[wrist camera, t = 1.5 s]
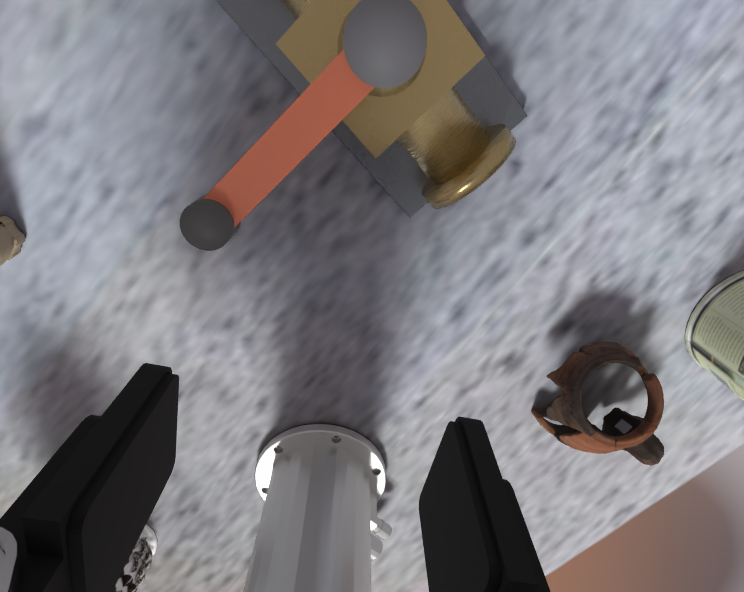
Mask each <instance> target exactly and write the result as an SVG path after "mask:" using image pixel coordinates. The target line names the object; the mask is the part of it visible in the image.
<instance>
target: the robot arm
mask: <svg viewBox="0 0 744 592" xmlns="http://www.w3.org/2000/svg"><path fill="white" fill-rule="evenodd" d="M178 390H179V376H178V375H175V374H172V370H171V368H170V367H166V366H160V365H154V364H148V363H145V364H143V365H142V366H141V367H140V368H139V370H138V371H137V372H136V373H135V375H134V376H133V377H132V378H131V380H130V381H129V382H128V383H127V385H126V386H125V387H124V388H123V390H122V391H121V392H120V394H119V395H118V396H117V397H116V399H115V400H114V401H113V402H112V404H111V405H110V406H109V407H108V409H107V410H106V411H105V412H104V414H103V415H102V416H96V415H90V416H88V417H86V418H85V419H84V420H83V421H82V422H81V423H80V424H79V426H78V427H77V428H76V429H75V430H74V432H73V433H72V434H71V435H70V436H69V438H68V439H67V440H66V441H65V442H64V444H63V445H62V446H61V447H60V448H59V449H58V451H57V452H56V453H55V454H54V455H53V457H52V458H51V459H50V460H49V461H48V463H47V464H46V465H45V466H44V467H43V469H42V470H41V471H40V472H39V473H38V475H37V476H36V477H35V478H34V479H33V481H32V482H31V483H30V484H29V485H28V486H27V488H26V489H25V490H24V491H23V492H22V494H21V495H20V496H19V497H18V498H17V500H16V501H15V502H14V503H13V504H12V506H11V507H10V508H9V509H8V510H7V512H6V513H5V514H4V515H3V516H2V518H1V519H0V592H112V591H113V589H114V587H115V585H116V583H117V581H118V579H119V577H120V575H121V573H122V571H123V569H124V567H125V565H126V563H127V561H128V559H129V557H130V555H131V553H132V551H133V549H134V547H135V545H136V543H137V541H138V539H139V537H140V535H141V533H142V531H143V529H144V527H145V525H146V523H147V521H148V519H149V517H150V515H151V513H152V511H153V509H154V507H155V505H156V503H157V501H158V499H159V497H160V495H161V493H162V491H163V489H164V487H165V485H166V483H167V481H168V479H169V477H170V475H171V473H172V470H173V467H174V463H175V457H176V435H177V412H178ZM255 482H256V486H257V489H258V492H259V494H260V495H261V496H262V498H263V499H264V501H265V503H264V507H263V511H262V515H261V520H260V524H259V528H258V532H257V536H256V540H255V545H254V549H253V553H252V557H251V561H250V565H249V570H248V574H247V578H246V582H245V586H244V590H243V592H371V559H373V560H374V559H376V558H377V557H378V556H379V555H380V554H381V551H382V548H383V544H382V541H380V540H379V539H378V538H376V537H375V536H374V535H372V534H371V530H373V532H374V533H376V534H377V535H378V536H380V537H381V538H383V539H387V538H388V537H389V536H390V534H391V531H392V528H391V526H390V525H389V524H387V523H386V522H385V521H383V520H382V519H379V518H378V517H377V502H378V501H379V499H380V498H381V496H382V494H383V492H384V489H385V484H386V469H385V464H384V460H383V458H382V456H381V454H380V452H379V451H378V450H377V448H376V447H375V446H374V445H373V444H372V443H371V442H370V441H369V440H367V439H366V438H365V437H363V436H362V435H360V434H358V433H356V432H354V431H352V430H349V429H346V428H344V427H340V426H334V425H329V424H311V425H303V426H299V427H295V428H291V429H289V430H287V431H285V432H282V433H280V434H279V435H277V436H276V437H275V438H273V439H272V440H271V441H270V442H269V443H268V444H267V445H266V446H265V447H264V448H263V450H262V452H261V454H260V455H259V459H258V462H257V465H256V470H255ZM419 514H420V522H421V530H422V538H423V546H424V554H425V561H426V569H427V577H428V585H429V592H550V589H549V587H548V584H547V581H546V578H545V575H544V573H543V570H542V567H541V564H540V562H539V559H538V556H537V553H536V551H535V548H534V545H533V543H532V540H531V537H530V534H529V532H528V529H527V526H526V523H525V521H524V518H523V515H522V512H521V510H520V507H519V504H518V501H517V499H516V496H515V493H514V490H513V488H512V486H511V484H510V483H509V482H508V481H507V480H504V479H502V476H501V473H500V470H499V467H498V464H497V462H496V459H495V456H494V453H493V450H492V447H491V444H490V441H489V438H488V436H487V433H486V430H485V427H484V424H483V422H482V421H481V420H476V419H470V418H464V417H458V418H457V419H456V421H455V422H453V421H450V422H449V423H448V425H447V427H446V430H445V433H444V435H443V438H442V440H441V443H440V446H439V448H438V451H437V453H436V456H435V458H434V461H433V464H432V466H431V469H430V471H429V474H428V477H427V479H426V482H425V484H424V487H423V490H422V492H421V495H420V500H419Z"/></svg>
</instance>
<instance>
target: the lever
mask: <svg viewBox="0 0 744 592" xmlns="http://www.w3.org/2000/svg"><path fill="white" fill-rule="evenodd" d="M343 47H344V49H343V50H342V51H341V52H340V54H339V55H338V56H337V57H336V58H335V59H334V60H333V61H332V62H331V63H330V64H329V65H328V66H327V67H326V68H325V69H324V71H323V72H322V73H321V74H320V75H319V76H318V77H317V78H316V79H315V80H314V81H313V82H312V83H311V84H310V85H309V87H308V88H307V89H306V90H305V91H304V92H303V93H302V94H301V95H300V96H299V97H298V98H297V99H296V100H295V101H294V102H293V104H292V105H291V106H290V107H289V108H288V109H287V110H286V111H285V112H284V113H283V114H282V115H281V116H280V117H279V118H278V119H277V121H276V122H275V123H274V124H273V125H272V126H271V127H270V128H269V129H268V130H267V131H266V132H265V133H264V134H263V135H262V136H261V138H260V139H259V140H258V141H257V142H256V143H255V144H254V145H253V146H252V147H251V148H250V149H249V150H248V151H247V152H246V153H245V155H244V156H243V157H242V158H241V159H240V160H239V161H238V162H237V163H236V164H235V165H234V166H233V167H232V168H231V169H230V171H229V172H228V173H227V174H226V175H225V176H224V177H223V178H222V179H221V180H220V181H219V182H218V183H217V184H216V185H215V186H214V188H213V189H212V190H211V191H210V192H209V193H208V194H206V195H204V196H202V197H201V198H199V199H198V200H196V201H195V202H193V203H192V204H191V205H189V206H188V207H186V208H185V209H184V211H183V212H182V214H181V217H180V228H181V231H182V234H183V236H184V237H185V239H186V240H187V241H188V242H189V243H190V244H192V245H193V246H195V247H196V248H199V249H201V250H207V251H212V250H216V249H219V248H221V247H223V246H224V245H225V244H226V243H227V241H228V240H229V239H230V238H231V237H232V236H233V235H234V233H235V232H236V231H237V230H238V228H239V226H240V223H241V221H242V220H243V219H244V218H245V217H246V216H247V215H248V214H249V213H250V212H251V211H252V210H253V209H254V208H255V207H256V206H257V205H258V204H259V203H260V202H261V201H262V200H263V199H264V198H265V197H266V196H267V195H268V194H269V193H270V192H271V191H272V190H273V189H274V188H275V187H276V186H277V185H278V184H279V183H280V182H281V181H282V180H283V179H284V178H285V177H286V176H287V175H288V174H289V173H290V172H291V171H292V170H293V169H294V168H295V167H296V166H297V165H298V164H299V163H300V162H301V161H302V160H303V159H304V158H305V157H306V156H307V155H308V154H309V153H310V152H311V151H312V150H313V149H314V148H315V147H316V146H317V145H318V144H319V143H320V142H321V141H322V140H323V139H324V138H325V137H326V136H327V135H328V134H329V133H330V132H331V131H332V130H333V129H334V128H335V127H336V126H337V125H338V124H339V123H340V122H341V121H342V120H343V119H344V118H345V117H346V116H347V115H348V114H349V113H350V112H351V111H352V110H353V109H354V108H355V107H356V106H357V105H358V104H359V103H360V102H361V101H362V100H363V99H364V98H365V97H366V96H367V95H368V94H369V93H370V92H371V91H372V90H373V89H374V88H375V87H377V88H392V87H396V86H399V85H401V84H403V83H404V82H406V81H408V80H409V79H410V78H411V77H412V76H413V75H414V74H415V73H416V72H417V70H418V69H419V67H420V65H421V64H422V61H423V59H424V56H425V53H426V47H427V31H426V26H425V22H424V19H423V17H422V15H421V13H420V12H419V10H418V8H417V7H416V6H415V5H414V4H413V3H412V2H411V1H410V0H361V1H360V2H359V3H358V4H357V5H356V6H355V7H354V8H353V10H352V11H351V13H350V15H349V17H348V19H347V21H346V25H345V28H344V34H343Z"/></svg>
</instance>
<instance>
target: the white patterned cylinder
mask: <svg viewBox="0 0 744 592" xmlns="http://www.w3.org/2000/svg"><path fill="white" fill-rule="evenodd" d="M157 543H158V540H157V538H156V536H155V533H154V531H153V530H152V529H151V528H150V527H149V526H148V525H147V524H146V525H145V527H144V529H143V531H142V533H141V535H140V537H139V539H138V541H137V543H136V545H135V547H134V549H133V551H132V553H131V555H130V557H129V559H128V561H127V563H126V565H125V567H124V569H123V571H122V573H121V575H120V577H119V579H118V581H117V583H116V585H115V587H114V589H113V591H112V592H136V590H137V587H138V586H139V585H140V584H142V583H143V581H144V579H145V572H146V570H147V569H148V568H149V567H150V565H151V561H152V560H151V558H152V555H154V554H155V551H156V548H157Z"/></svg>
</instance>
